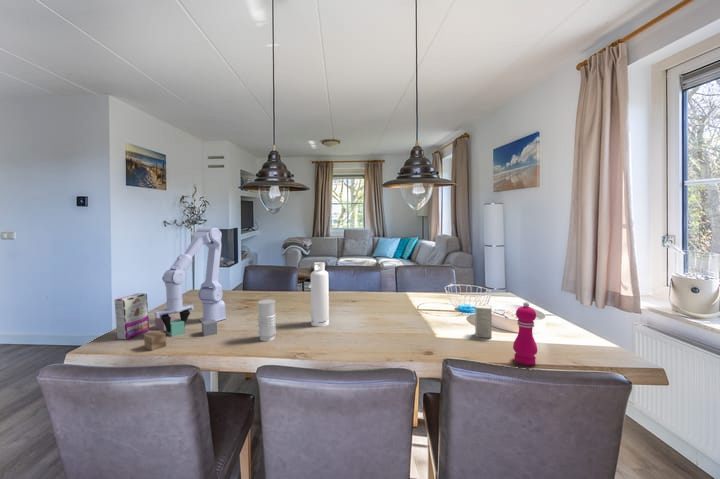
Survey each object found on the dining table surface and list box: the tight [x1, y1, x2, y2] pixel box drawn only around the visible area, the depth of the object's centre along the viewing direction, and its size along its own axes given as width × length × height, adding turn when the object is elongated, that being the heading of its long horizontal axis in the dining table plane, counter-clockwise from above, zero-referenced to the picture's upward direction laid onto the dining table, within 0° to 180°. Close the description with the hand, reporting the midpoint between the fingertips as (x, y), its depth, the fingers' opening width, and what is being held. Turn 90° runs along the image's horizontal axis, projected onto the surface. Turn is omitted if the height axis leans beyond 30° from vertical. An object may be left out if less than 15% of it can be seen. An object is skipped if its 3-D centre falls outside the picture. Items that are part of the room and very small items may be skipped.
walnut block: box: [143, 331, 167, 352], centre depth 122 cm, size 5×5×5 cm
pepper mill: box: [512, 301, 538, 366], centre depth 108 cm, size 7×7×20 cm
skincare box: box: [474, 304, 493, 339], centre depth 132 cm, size 6×4×12 cm
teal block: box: [166, 318, 186, 337], centre depth 137 cm, size 5×5×5 cm
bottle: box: [310, 261, 330, 327], centre depth 148 cm, size 8×8×28 cm
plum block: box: [154, 314, 175, 331], centre depth 145 cm, size 5×5×5 cm
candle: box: [257, 298, 277, 342], centre depth 131 cm, size 7×7×15 cm
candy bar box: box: [114, 292, 150, 341], centre depth 135 cm, size 11×5×16 cm, turn 168°
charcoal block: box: [201, 319, 218, 337], centre depth 137 cm, size 5×5×5 cm
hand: (175, 330), depth 137 cm, fingers closed on teal block, 5 cm apart
